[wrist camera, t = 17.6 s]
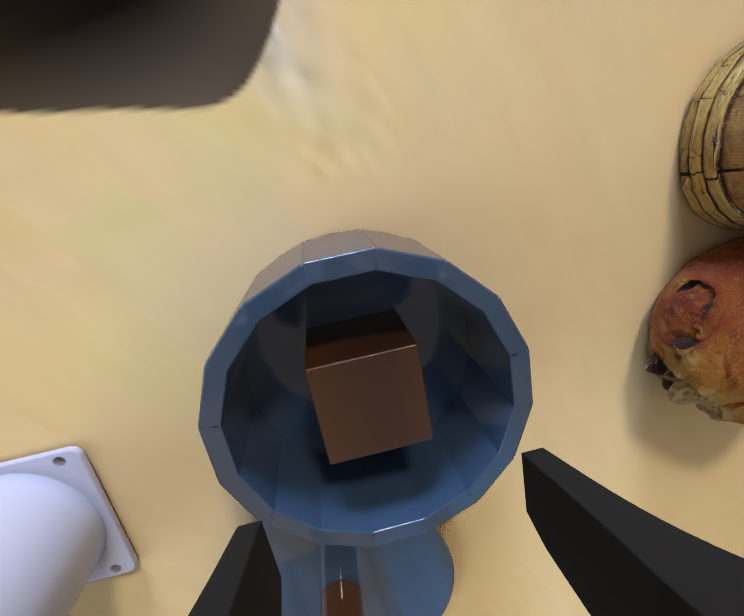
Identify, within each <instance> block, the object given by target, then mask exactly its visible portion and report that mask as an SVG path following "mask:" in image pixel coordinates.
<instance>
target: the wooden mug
mask: <svg viewBox="0 0 744 616" xmlns="http://www.w3.org/2000/svg"><path fill="white" fill-rule="evenodd" d="M679 162H680V174H681V182H682V189H683V191H684V193H685V195H686V197H687V200H688V202H689V204H690V206H691V208H692V210H693V211H694V212H696V213H697V214H698V215H699V216H701V217H702V218H703V219H704V220H706V221H707V222H709V223H711V224H714V225H716V226H719V227H721V228H723V229H735V230H744V41H743V42H741V43H740V44H739V45H737V46H736V47H735V48H734V49H732V50H731V51H730V52H728V53H727V54H726V55H725V56H723V57H722V58H721V59H719V60H718V61H717V63H716V64H715V65H714V67H713V68H712V70H711V71H710V73H709V74H708V76H707V77H706V79H705V80H704V82H703V83H702V85H701V86H700V88H699V89H698V91H697V92H696V94H695V95H694V97H693V100H692V103H691V105H690V108H689V110H688V113H687V115H686V118H685V120H684V123H683V127H682V132H681V137H680V142H679Z"/></svg>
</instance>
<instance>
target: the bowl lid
mask: <svg viewBox="0 0 744 616" xmlns="http://www.w3.org/2000/svg"><path fill="white" fill-rule="evenodd" d="M262 524H263V523H262ZM263 527H264V529H265V532H266V535H267V538H268V541H269V544H270V546H271V549H272V552H273V555H274V558H275V560H276V563H277V566H278V569H279V572H280V574H281V582H282V616H442V614H443V613H444V611H445V609H446V607H447V605H448V603H449V600H450V597H451V593H452V589H453V583H454V566H453V561H452V556H451V554H450V551H449V548H448V546H447V543H446V541H445V539H444V537H443V536H442V534H441V532H440V531H439V530H438V528H435V529H434V530H432V531H429V532H428V533H424V534H421V535H417V536H413V537H410V538H406V539H402V540H398V541H395V542H391V543H387V544H383V545H380V546H376V547H374V546H373V547H358V546H336V545H316V544H313V543H310V542H308V541H305V540H303V539H300V538H298V537H295V536H293V535H290V534H288V533H285V532H283V531H280V530H278V529H275V528H273V527H270V526H268V525H265V524H263Z"/></svg>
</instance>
